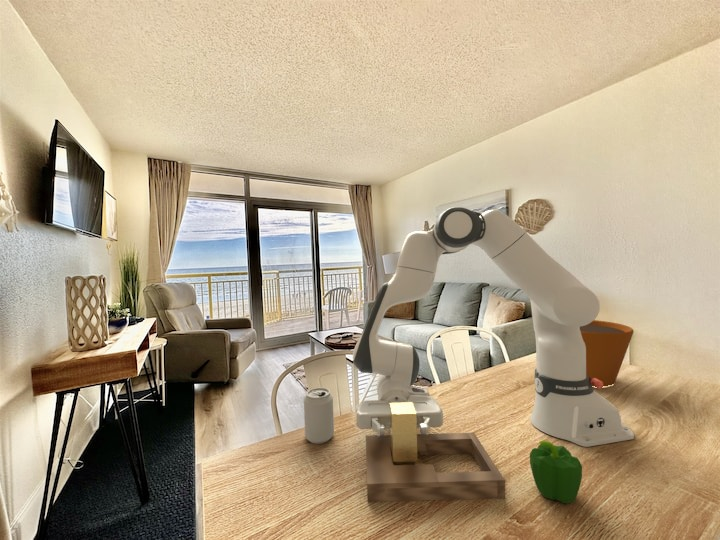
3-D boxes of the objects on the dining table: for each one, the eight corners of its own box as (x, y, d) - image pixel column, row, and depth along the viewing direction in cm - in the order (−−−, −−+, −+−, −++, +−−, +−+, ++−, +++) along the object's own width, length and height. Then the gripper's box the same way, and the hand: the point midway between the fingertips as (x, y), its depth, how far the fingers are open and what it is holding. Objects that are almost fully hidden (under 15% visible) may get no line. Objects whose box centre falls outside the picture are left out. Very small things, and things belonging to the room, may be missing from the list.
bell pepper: (578, 486, 61) (578, 436, 60) (585, 517, 53) (585, 460, 53) (530, 473, 65) (529, 426, 64) (530, 500, 57) (529, 447, 57)
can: (329, 447, 76) (327, 398, 75) (300, 444, 77) (298, 397, 77) (337, 430, 83) (336, 386, 83) (311, 428, 85) (309, 385, 84)
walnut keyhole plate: (474, 446, 74) (473, 432, 74) (505, 498, 58) (505, 480, 58) (366, 449, 74) (365, 435, 74) (367, 501, 58) (367, 483, 58)
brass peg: (419, 459, 70) (417, 399, 70) (426, 484, 62) (425, 417, 62) (384, 460, 70) (382, 400, 70) (387, 485, 62) (385, 418, 62)
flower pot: (604, 400, 95) (604, 336, 95) (535, 374, 118) (535, 322, 117) (649, 386, 104) (649, 328, 103) (578, 365, 126) (577, 316, 126)
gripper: (355, 391, 80) (354, 419, 66) (434, 389, 80) (449, 416, 66) (355, 415, 80) (354, 448, 66) (434, 413, 80) (450, 445, 66)
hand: (403, 432), depth 66 cm, fingers open, 8 cm apart
